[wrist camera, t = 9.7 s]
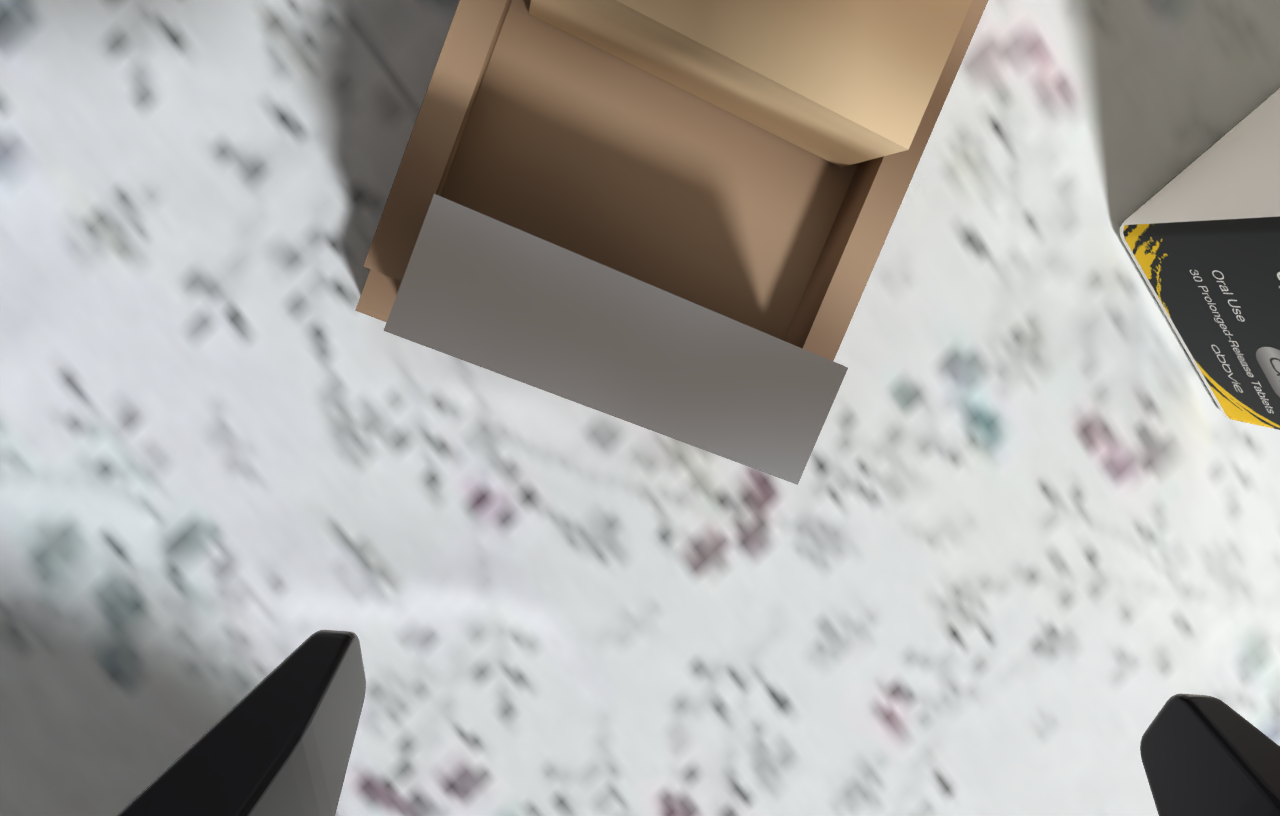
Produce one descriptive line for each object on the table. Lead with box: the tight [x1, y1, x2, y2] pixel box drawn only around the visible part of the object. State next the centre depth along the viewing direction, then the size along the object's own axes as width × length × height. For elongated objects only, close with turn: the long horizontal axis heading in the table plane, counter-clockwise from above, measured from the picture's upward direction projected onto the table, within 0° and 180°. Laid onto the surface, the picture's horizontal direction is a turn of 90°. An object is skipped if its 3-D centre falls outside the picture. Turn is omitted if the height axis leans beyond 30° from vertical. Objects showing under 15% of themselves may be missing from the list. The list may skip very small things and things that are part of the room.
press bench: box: [356, 0, 988, 485], centre depth 16 cm, size 16×10×6 cm, turn 158°
